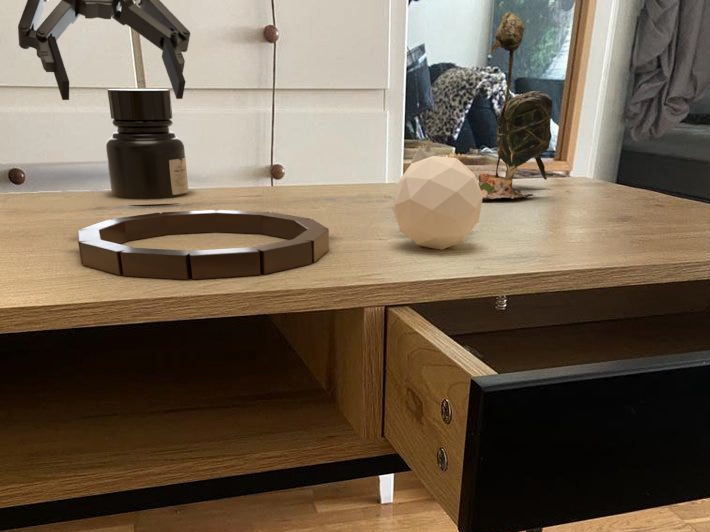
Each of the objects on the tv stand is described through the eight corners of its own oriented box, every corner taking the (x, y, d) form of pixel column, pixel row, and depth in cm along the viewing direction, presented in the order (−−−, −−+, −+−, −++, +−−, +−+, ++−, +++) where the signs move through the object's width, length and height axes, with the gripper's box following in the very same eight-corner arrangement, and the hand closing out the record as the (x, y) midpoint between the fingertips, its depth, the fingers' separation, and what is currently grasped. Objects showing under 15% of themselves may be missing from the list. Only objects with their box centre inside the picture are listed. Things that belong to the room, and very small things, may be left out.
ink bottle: (198, 206, 89) (188, 90, 83) (121, 210, 86) (105, 90, 80) (178, 195, 97) (168, 88, 91) (106, 198, 93) (91, 88, 88)
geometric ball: (411, 278, 70) (360, 203, 68) (460, 235, 73) (413, 162, 71) (464, 248, 63) (409, 164, 61) (515, 203, 67) (464, 122, 65)
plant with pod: (558, 202, 94) (582, 11, 84) (467, 202, 93) (481, 10, 83) (538, 193, 101) (558, 16, 91) (454, 193, 100) (465, 15, 90)
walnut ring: (83, 287, 55) (79, 262, 54) (79, 235, 72) (76, 215, 71) (356, 268, 61) (356, 245, 60) (292, 224, 78) (292, 206, 77)
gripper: (-34, -86, 87) (11, 64, 82) (180, -67, 97) (230, 66, 93) (-28, -26, 93) (14, 116, 89) (172, -15, 104) (219, 112, 99)
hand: (125, 91), depth 91 cm, fingers open, 13 cm apart
